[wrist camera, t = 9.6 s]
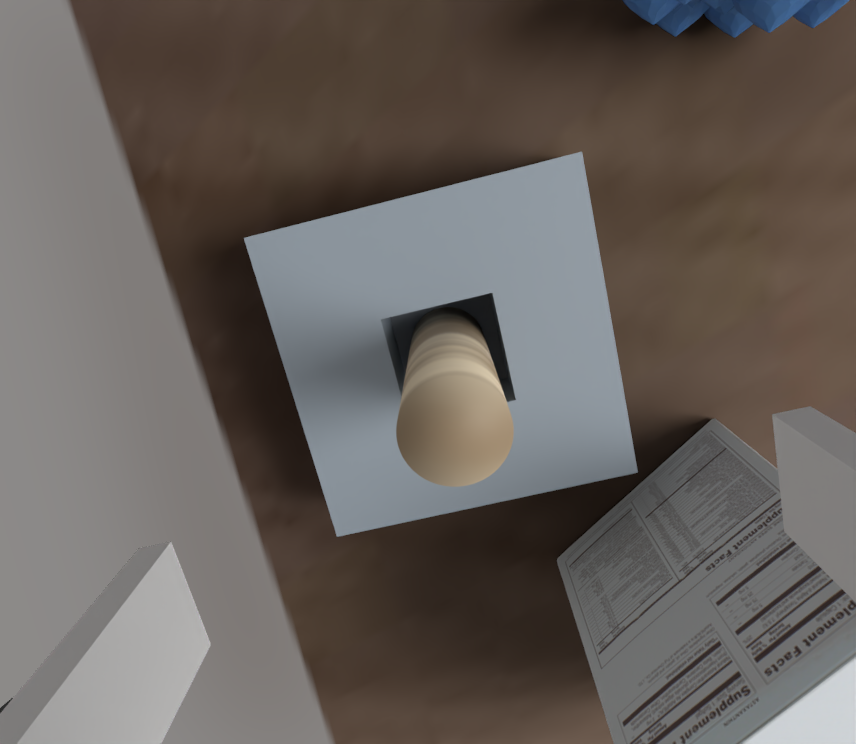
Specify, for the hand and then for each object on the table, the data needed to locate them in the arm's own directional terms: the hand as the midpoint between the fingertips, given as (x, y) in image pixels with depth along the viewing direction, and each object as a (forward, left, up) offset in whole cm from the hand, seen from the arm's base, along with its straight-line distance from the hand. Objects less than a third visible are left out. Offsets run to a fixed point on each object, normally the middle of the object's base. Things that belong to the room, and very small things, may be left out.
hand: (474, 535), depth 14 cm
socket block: (+1, 0, -23) cm, 23 cm away
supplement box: (+18, +12, -24) cm, 32 cm away
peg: (+1, -1, -22) cm, 22 cm away
